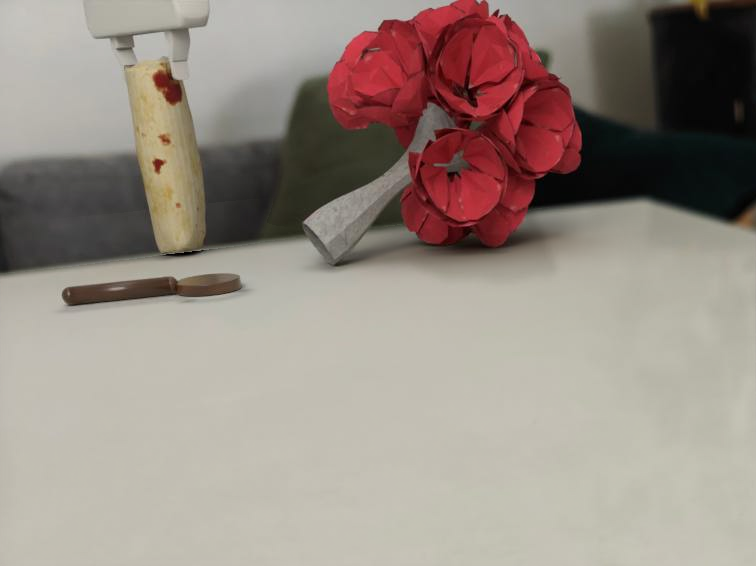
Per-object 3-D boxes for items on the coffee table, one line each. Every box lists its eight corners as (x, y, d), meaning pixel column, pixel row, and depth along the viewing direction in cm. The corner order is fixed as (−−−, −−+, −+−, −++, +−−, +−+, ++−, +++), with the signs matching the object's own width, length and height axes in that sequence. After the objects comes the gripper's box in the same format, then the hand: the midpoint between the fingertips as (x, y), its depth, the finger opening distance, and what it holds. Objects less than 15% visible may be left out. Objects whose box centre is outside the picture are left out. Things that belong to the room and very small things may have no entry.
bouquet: (417, 347, 109) (646, 155, 112) (264, 127, 97) (524, -83, 100) (354, 324, 128) (552, 159, 130) (219, 137, 116) (439, -41, 118)
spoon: (61, 311, 101) (57, 293, 101) (66, 299, 107) (62, 282, 106) (243, 292, 104) (240, 274, 104) (239, 281, 110) (236, 264, 109)
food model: (211, 255, 126) (177, 54, 117) (150, 260, 125) (112, 59, 116) (217, 242, 135) (186, 54, 125) (160, 247, 134) (125, 59, 125)
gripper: (55, -57, 120) (85, 87, 127) (150, -82, 107) (179, 80, 113) (108, -57, 124) (135, 82, 130) (207, -81, 111) (232, 76, 117)
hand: (156, 81), depth 122 cm, fingers open, 8 cm apart
